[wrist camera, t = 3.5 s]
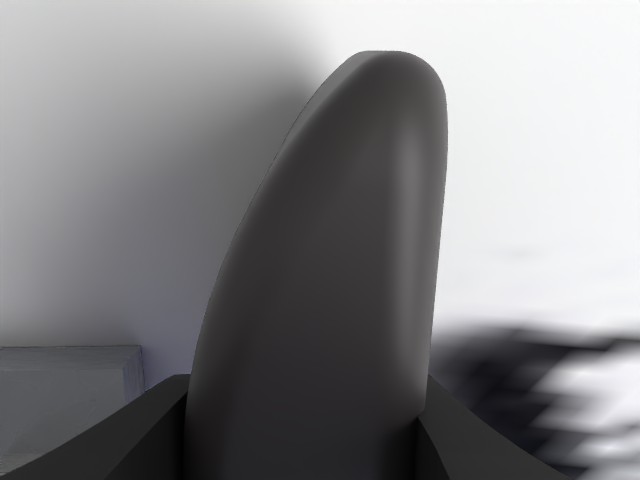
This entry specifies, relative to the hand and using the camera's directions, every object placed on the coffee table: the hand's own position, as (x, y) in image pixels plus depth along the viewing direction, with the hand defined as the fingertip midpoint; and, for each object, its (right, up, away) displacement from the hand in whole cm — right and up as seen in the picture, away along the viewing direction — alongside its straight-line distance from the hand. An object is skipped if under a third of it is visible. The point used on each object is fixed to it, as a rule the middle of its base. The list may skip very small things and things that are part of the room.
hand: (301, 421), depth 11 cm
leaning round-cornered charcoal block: (0, +2, +5) cm, 5 cm away
